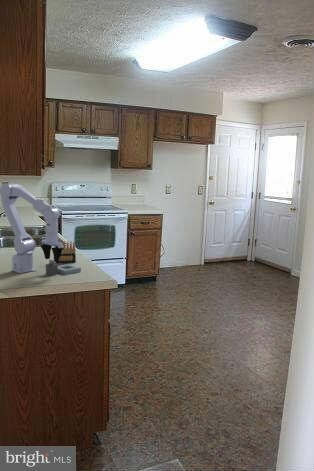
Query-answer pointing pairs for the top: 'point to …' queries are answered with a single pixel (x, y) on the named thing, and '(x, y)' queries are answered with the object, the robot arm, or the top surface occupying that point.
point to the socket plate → (68, 269)
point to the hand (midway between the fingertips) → (51, 260)
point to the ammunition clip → (68, 253)
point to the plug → (51, 268)
